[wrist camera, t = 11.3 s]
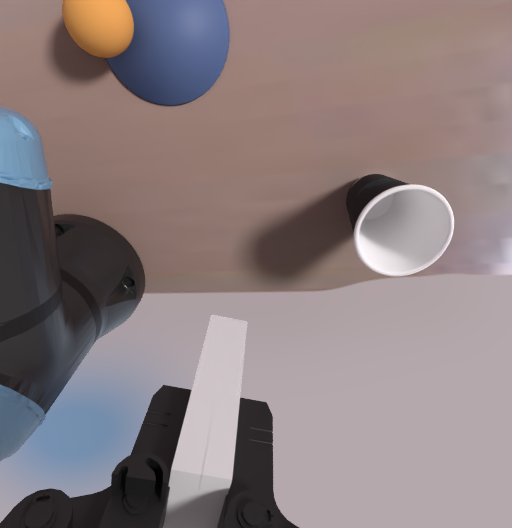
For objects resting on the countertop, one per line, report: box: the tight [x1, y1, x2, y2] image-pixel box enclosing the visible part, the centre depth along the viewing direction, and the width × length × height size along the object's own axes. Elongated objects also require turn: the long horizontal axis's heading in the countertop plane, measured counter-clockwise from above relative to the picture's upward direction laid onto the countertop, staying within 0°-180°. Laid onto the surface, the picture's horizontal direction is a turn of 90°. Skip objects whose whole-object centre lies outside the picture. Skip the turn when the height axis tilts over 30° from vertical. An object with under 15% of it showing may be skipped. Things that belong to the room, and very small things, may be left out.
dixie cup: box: [346, 174, 454, 276], centre depth 34 cm, size 8×8×11 cm
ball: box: [62, 0, 134, 58], centre depth 30 cm, size 6×6×6 cm
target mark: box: [106, 0, 229, 105], centre depth 32 cm, size 12×12×1 cm
